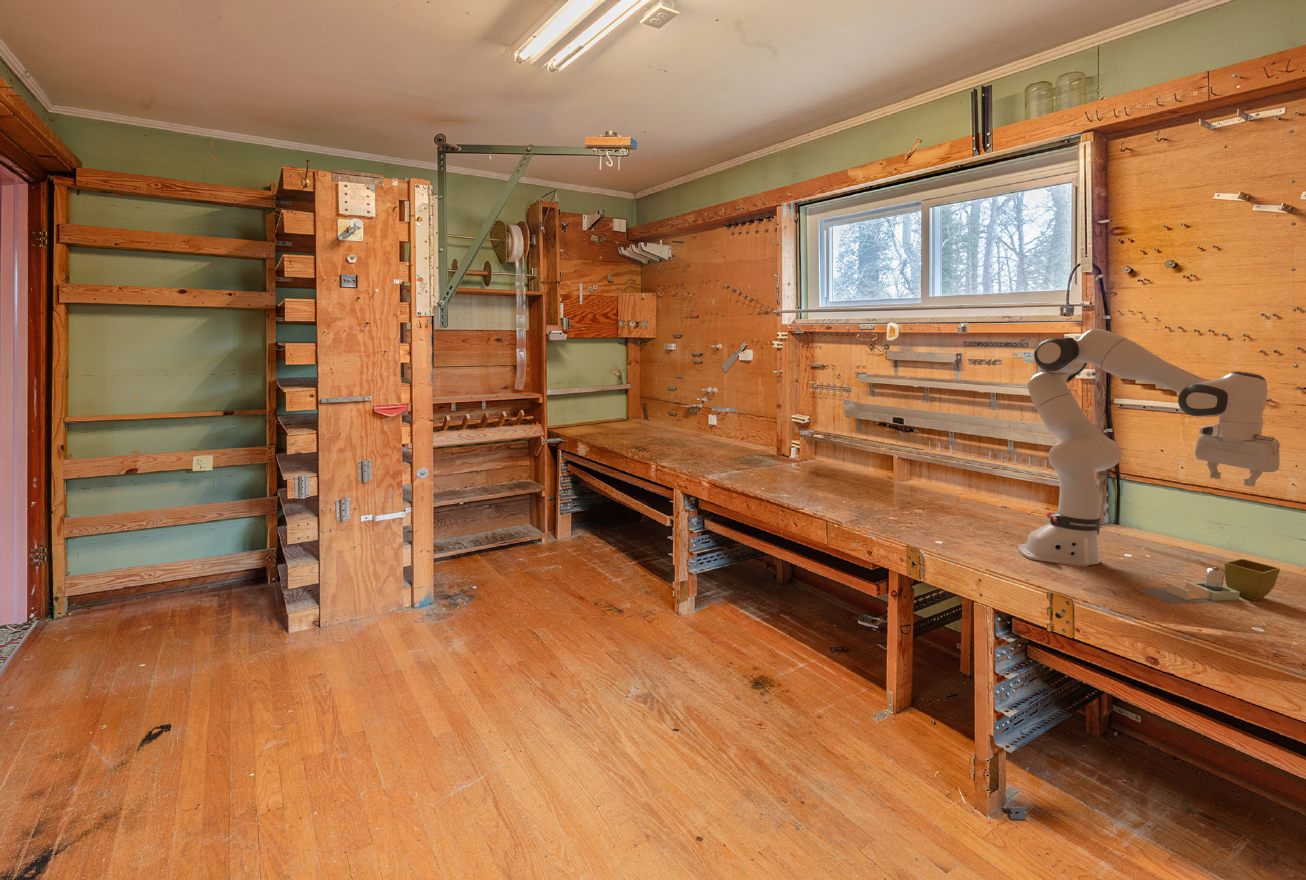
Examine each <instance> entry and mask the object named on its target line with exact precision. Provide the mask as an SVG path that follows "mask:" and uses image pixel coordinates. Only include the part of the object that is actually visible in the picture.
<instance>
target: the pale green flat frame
mask: <svg viewBox="0 0 1306 880" xmlns="http://www.w3.org/2000/svg"><path fill="white" fill-rule="evenodd" d="M1190 582H1191V583H1193V584H1196V585H1198V586H1201V587H1203V588H1204V585H1205V581H1195V582H1194V581H1193V582H1192V581H1190ZM1206 589H1207V588H1206ZM1208 590H1209V589H1208ZM1239 594H1240V592H1238V591H1236V590H1233V589H1230V588H1228V587H1227V586H1224V585H1223V586H1222V591H1212V590H1210V594H1209V599H1212V600H1232V599H1239V600H1240V596H1239Z"/></svg>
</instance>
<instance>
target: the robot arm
mask: <svg viewBox="0 0 1306 880" xmlns="http://www.w3.org/2000/svg"><path fill="white" fill-rule="evenodd" d="M1033 359H1034V362H1035V363H1036V365H1037V366H1038V367H1039V368H1040V371H1039V372H1038V373H1036V374H1034V375H1033V376H1032V377H1031V378H1030V379H1029V380H1028V382H1027V391H1028V393H1029V396H1030V399H1031V402H1032V403H1033V406H1034V408H1035V410H1036V411H1037V413H1038V415H1039V417H1040V418H1041V421H1042V422H1043V424H1044V425H1045V427H1046V429H1047V431H1048V432H1050V433H1051V434H1052V435H1054V436H1056V438H1058V439H1059V440H1061V441H1060V442H1057V443H1055V444H1054V445H1053V446H1052V447H1050V449H1049V452H1048V462H1049V465H1050V466H1051V467H1052V468H1053V470H1055V472H1056V475H1057V479H1058V484H1059V495H1058V496H1059V498H1058V509H1057V511H1056V512H1054V513H1053V512H1052V511H1050V510H1049V511H1048V510H1047V512H1046V513H1045V516H1046V517H1047V519H1049V523H1047V524H1045V525H1042V526H1041V527H1038V528H1037V529H1034V530H1032V531H1031V532H1030V533H1029V535H1028V538H1027V540H1026V543H1024V544H1023V543H1022V544H1020V545H1019V546H1018V548H1017V549H1018V552H1019V553H1020V554H1021V555H1022V556H1024V557H1025V558H1028V559H1030V560H1033V561H1039V562H1049V563H1054V564H1060V565H1061V564H1062V565H1068V566H1069V565H1070V566H1075V567H1088V566H1092V565H1093V566H1094V565H1098V564H1100V563H1101V558H1100V553H1099V539H1098V536H1099V534H1100V530H1101V517H1100V513H1101V505H1102V497H1103V496H1102V492H1101V490H1100V489H1099V488H1098V487H1097V484H1096V480H1095V479H1096V478H1095V473H1096V472H1097V473H1098V472H1103V471H1107V470H1109V469H1111V468H1113V467H1115V466H1116V465H1118V464H1119V463H1120V461H1121V459H1122V454H1123V453H1122V448H1121V447H1120V445H1119V444H1118V443H1117V442H1116V441H1115V440H1113V439H1111V438H1109V437H1107V435H1105V434H1104V433H1103V432H1102V431H1101V430H1100V429H1099V428H1098V427H1097V426H1096V425H1095V424H1094V423H1093V422H1092V421H1091V420H1090V419H1089V418H1088V416H1087V415H1086V414H1085V413H1084V410H1083V409H1082V408H1081V406H1080V405H1079V403H1078V401H1077V400H1076V398H1075V397H1074V395H1073V393H1072V391H1071V390H1070V388H1069V386H1068V385H1067V383H1070V382H1071V381H1072V380H1073V379H1074V378H1075V377H1076V376H1078V375H1079V374H1081V372H1083V371H1084V370H1085V369H1086V368H1087V365H1088V364H1091V365H1093V366H1095V367H1097V368H1099V369H1101V370H1102V371H1104V372H1106V373H1109V374H1110V375H1113V376H1115V377H1118V378H1121V379H1125V380H1130V381H1131V380H1132V381H1133V380H1134V381H1145V382H1150V383H1153V384H1154V383H1155V384H1158V385H1161V386H1163V387H1165V388H1167V389H1170V390H1172V391H1173V392H1175V393H1177V394H1179V395H1178V397H1177V403H1178V407H1179V408H1180V410H1181V411H1182V412H1183V413H1185V414H1187V415H1189V416H1193V417H1197V418H1205V417H1207V418H1208V417H1219V421H1218V423H1217V424H1211V425H1205V426H1201V427H1200V428H1199V432H1198V433H1199V434H1200V435H1199V436H1198V438H1197V440H1196V444H1195V450H1194V456H1195V457H1196V459H1197V460H1199V461H1206V462H1207V465H1206V466H1207V468H1208V470H1209V474H1210V475H1209V477H1210V478H1211V479H1214V480H1219V479H1220V478H1221V477H1222V476H1221V475H1222V472H1220V471H1219V469H1218V466H1220V464H1221V465H1225V466H1231V467H1234V468H1236V467H1237V468H1242V469H1248V470H1249V474H1250V475H1249V477H1247V478H1244V480H1243V485H1244V486H1246V487H1247V486H1248V487H1255V486H1256V482H1257V480H1258V479H1259V478H1260V477H1261V476H1262V474H1263V473H1275V472H1277V471H1278V470H1279V468H1280V457H1281V456H1280V446H1281V443H1280V442H1279V441H1278V440H1277V439H1276V438H1275V437H1274V436H1269V435H1268V436H1266V435H1264V434H1263V435H1262V432H1263V426H1264V419H1263V413H1264V411H1265V409H1266V407H1267V399H1268V381H1267V380H1266V378H1265V377H1264V376H1262V375H1260V374H1256V373H1251V372H1248V371H1245V372H1244V371H1231V372H1229V373H1228V374H1226V375H1223V376H1220V377H1218V378H1215V379H1210V380H1208V379H1204V378H1202V377H1200V376H1197V375H1195V374H1193V373H1191V372H1189V371H1187V370H1184V369H1182V368H1180V367H1178V366H1175V365H1174V364H1171V363H1169V362H1168V361H1166V360H1164V359H1163V358H1161V357H1159V356H1158V355H1156V354H1154V353H1153V352H1152V351H1150V350H1149V349H1146V348H1145V347H1144V346H1142V345H1140V344H1139V343H1137V342H1135V341H1133V340H1132V339H1129V338H1128V337H1124V336H1123V335H1121V334H1118V333H1115V332H1112V331H1110V330H1106V329H1102V328H1091V329H1088V330H1087V331H1085V332H1084V333H1083V334H1082V335H1081V336H1080V337H1079V338H1078V339H1076V340H1075V339H1074V338H1073V337H1052V338H1051V337H1050V338H1047V339H1045V340H1042V341H1041V342H1039V343H1038V344H1037V346H1036V347H1035V349H1034V352H1033Z"/></svg>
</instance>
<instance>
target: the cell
mask: <svg viewBox="0 0 1306 880" xmlns="http://www.w3.org/2000/svg"><path fill="white" fill-rule="evenodd" d="M1224 581H1225V569H1223V568H1219V567H1216V566H1211V567H1210V566H1209V567H1207V569H1206V575H1205V581H1204V582H1205V585H1204V588H1207V589H1209V590H1212V591H1222V586H1224Z"/></svg>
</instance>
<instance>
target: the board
mask: <svg viewBox="0 0 1306 880" xmlns="http://www.w3.org/2000/svg"><path fill="white" fill-rule="evenodd" d="M1136 591H1138V592H1141V593H1144V594H1145V595H1148V596H1149V597H1152V598H1153V599H1154V598H1155V599H1157V600H1158V601H1162V602H1163V603H1166V604H1167V605H1176V604H1177V605H1179V604H1203V603H1206V604H1207V603H1229V602H1231V603H1232V602H1234V603H1235V602H1243V600H1241V599H1240V598H1239V599H1232V600H1212V599H1189V600H1185V599H1183V598H1180V597H1178V596H1176V595H1173V594H1171V593H1169V592H1166V587H1165V588H1142V589H1141V588H1140V589H1139V588H1137V589H1136Z"/></svg>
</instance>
